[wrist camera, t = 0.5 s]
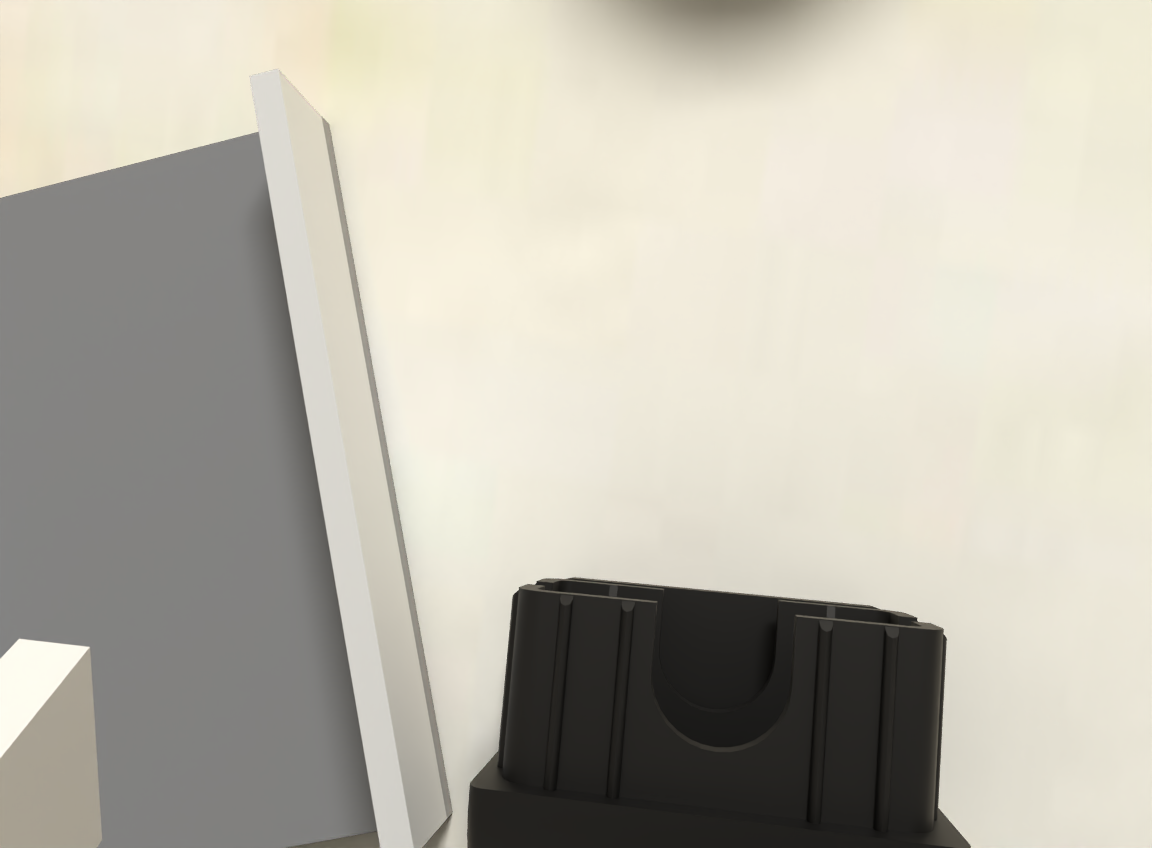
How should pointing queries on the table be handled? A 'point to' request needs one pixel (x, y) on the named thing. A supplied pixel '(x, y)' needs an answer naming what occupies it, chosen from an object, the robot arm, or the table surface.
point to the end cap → (713, 723)
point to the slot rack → (214, 495)
